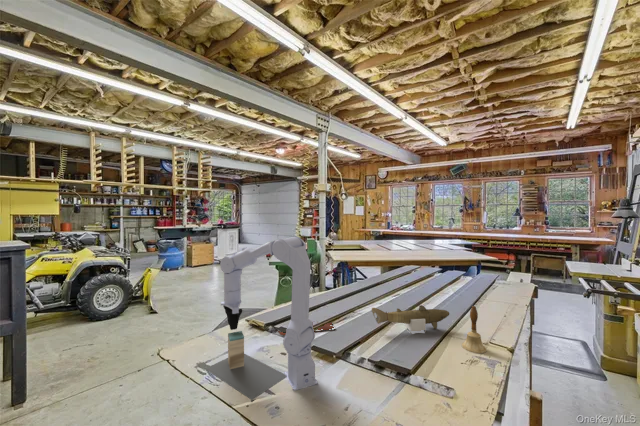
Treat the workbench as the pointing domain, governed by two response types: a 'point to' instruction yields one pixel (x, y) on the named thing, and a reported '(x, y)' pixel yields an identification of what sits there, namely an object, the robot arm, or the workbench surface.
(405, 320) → the wood carving
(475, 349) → the hand bell
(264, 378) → the rubber mat
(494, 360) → the workbench surface
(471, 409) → the workbench surface
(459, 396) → the workbench surface
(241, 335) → the beech block
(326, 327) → the wooden tablet
